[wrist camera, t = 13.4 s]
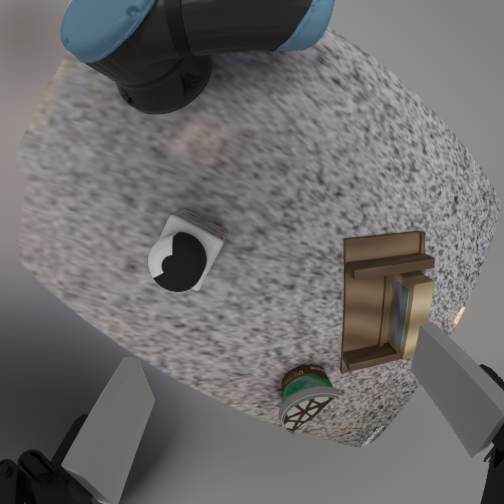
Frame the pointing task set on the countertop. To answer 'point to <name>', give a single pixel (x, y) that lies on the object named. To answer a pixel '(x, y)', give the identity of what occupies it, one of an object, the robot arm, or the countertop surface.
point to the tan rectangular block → (408, 311)
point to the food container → (304, 395)
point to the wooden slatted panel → (375, 293)
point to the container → (185, 251)
